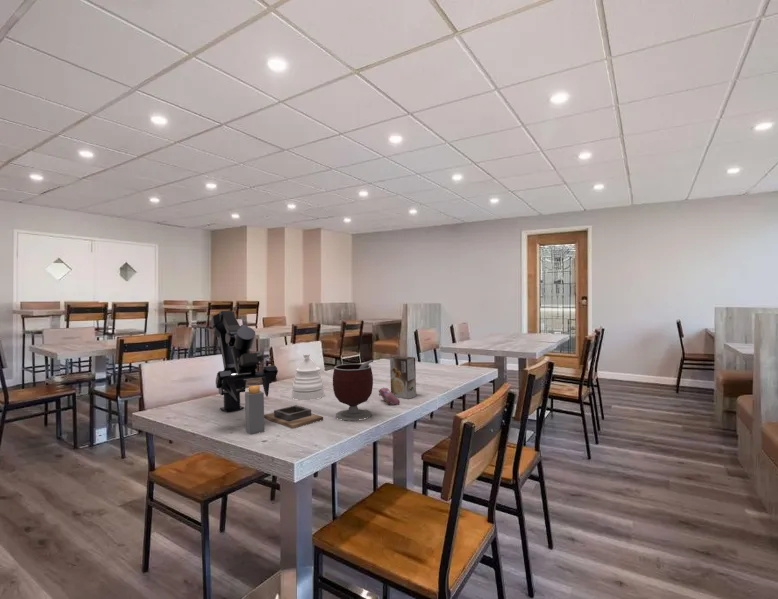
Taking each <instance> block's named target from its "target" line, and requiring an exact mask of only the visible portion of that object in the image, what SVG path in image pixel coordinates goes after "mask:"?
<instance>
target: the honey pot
mask: <svg viewBox="0 0 778 599" xmlns="http://www.w3.org/2000/svg"><path fill="white" fill-rule="evenodd" d="M320 370H321V367H320V366H317V364H316V362H315V361H314V360H313V359H312V357H311V356H310V353H304V354H303V359H302V361H301V362H300V364H299V366H298V367H297V368H296V369H295V372H296V374H295V376H294V379H293V383H292V387H291V388H292V390H291V391H292V397H293V398H294V399H298V400H297V401H300V400H309V401H311V400H310V399H316V400H318V399H317V398H320V397H323V396H325V391H324V390H325V388H324V387H325V386H324V382H323V378H322V375H321V374H320ZM293 398H292V399H293ZM323 398H324V397H323ZM294 399H293V400H294ZM320 399H321V398H320Z"/></svg>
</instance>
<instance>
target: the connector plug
mask: <svg viewBox="0 0 778 599" xmlns="http://www.w3.org/2000/svg"><path fill="white" fill-rule="evenodd" d="M260 386H261V385H259V384H252V385H248V391H245V392H244V405H245V406H244V411H245V414H244V415H245V416H244V417H245V420H244V421H245V431H246V433H248V435H254V434H258V433H259V432H260V433H264V432H265V418H264V415H265V398H264V395H265V392H264V391H261V389H260Z"/></svg>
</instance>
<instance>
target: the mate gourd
mask: <svg viewBox="0 0 778 599" xmlns="http://www.w3.org/2000/svg"><path fill="white" fill-rule="evenodd" d="M371 363H374V360H373V359H370V360H368V361H366V362H364V363H345V364H344V363H342V364H338V365H335V366H334V367H333V373H332V388H333V394H334V397H336V398H335V399H337V401H338V402H340V403H341V404H345V405H347V406H348V409H344V410H341V411H338V412H336V413H335V418H336V419H337V418H338V419H337V420H339V419H342V420H341V421H343V420H359V419H364V418H367V417H370V416H372V412H371V411H369V410H366V409H361V408H359V407H358V406H359V405H361V404H364V403H365V402H367V401H368V400H369V398H371V395H372V392H373V387H374V381H373V380H374V375H373V371H372V370H373V369H372V366H371V365H370V364H371ZM370 418H371V417H370Z"/></svg>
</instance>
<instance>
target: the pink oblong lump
mask: <svg viewBox="0 0 778 599" xmlns="http://www.w3.org/2000/svg"><path fill="white" fill-rule="evenodd" d="M378 396H379V397H381V398H382V399H383V400H384V402H385V401H386V404H388V403H389V405H390V404H391V403H392V404H393V405H396V404H398V405H400V399H399V397H395V396H394V395H393V394H392V393H391V390H390V389H389V388H387V387H380V389H378Z"/></svg>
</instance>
